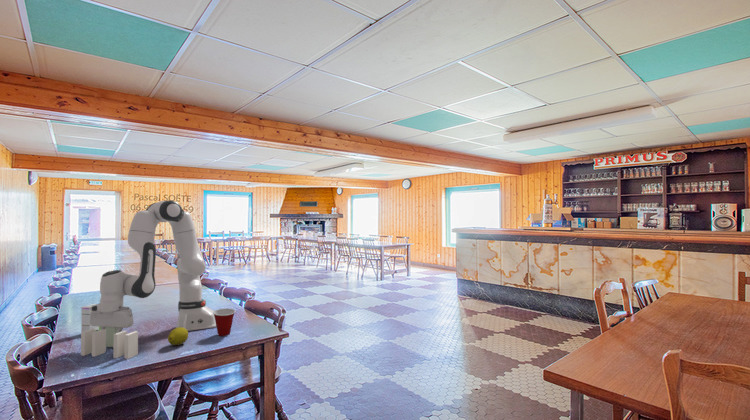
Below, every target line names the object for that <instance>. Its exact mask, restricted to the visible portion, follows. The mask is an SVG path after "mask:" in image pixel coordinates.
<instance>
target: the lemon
mask: <svg viewBox="0 0 750 420" xmlns="http://www.w3.org/2000/svg"><path fill="white" fill-rule="evenodd" d="M188 339H189V331H187V330H186V329H185V328H183V327H178V328H176V327H175V328H173V329H172V330H170V332H169V334H168V335H167V341H168V343H169V344H170V345H173V346H180V345H182V344H184V343H185V342H186V341H187V340H188Z"/></svg>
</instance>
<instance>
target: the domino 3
mask: <svg viewBox="0 0 750 420" xmlns="http://www.w3.org/2000/svg"><path fill="white" fill-rule="evenodd" d="M105 330H106V348H113V345H114V334H115V333H117V327H105Z"/></svg>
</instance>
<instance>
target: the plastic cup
mask: <svg viewBox="0 0 750 420" xmlns="http://www.w3.org/2000/svg"><path fill="white" fill-rule="evenodd" d="M235 313H236V309H234V308H226V307H225V308H218V309H216V310H213V314H214V316H215V322H216V327H215V328H216V330H217V331H216V333H217V335H218V336H220V337H225V336H229V335H230V334H231V330H232V325H233V320H234V315H235Z"/></svg>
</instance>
